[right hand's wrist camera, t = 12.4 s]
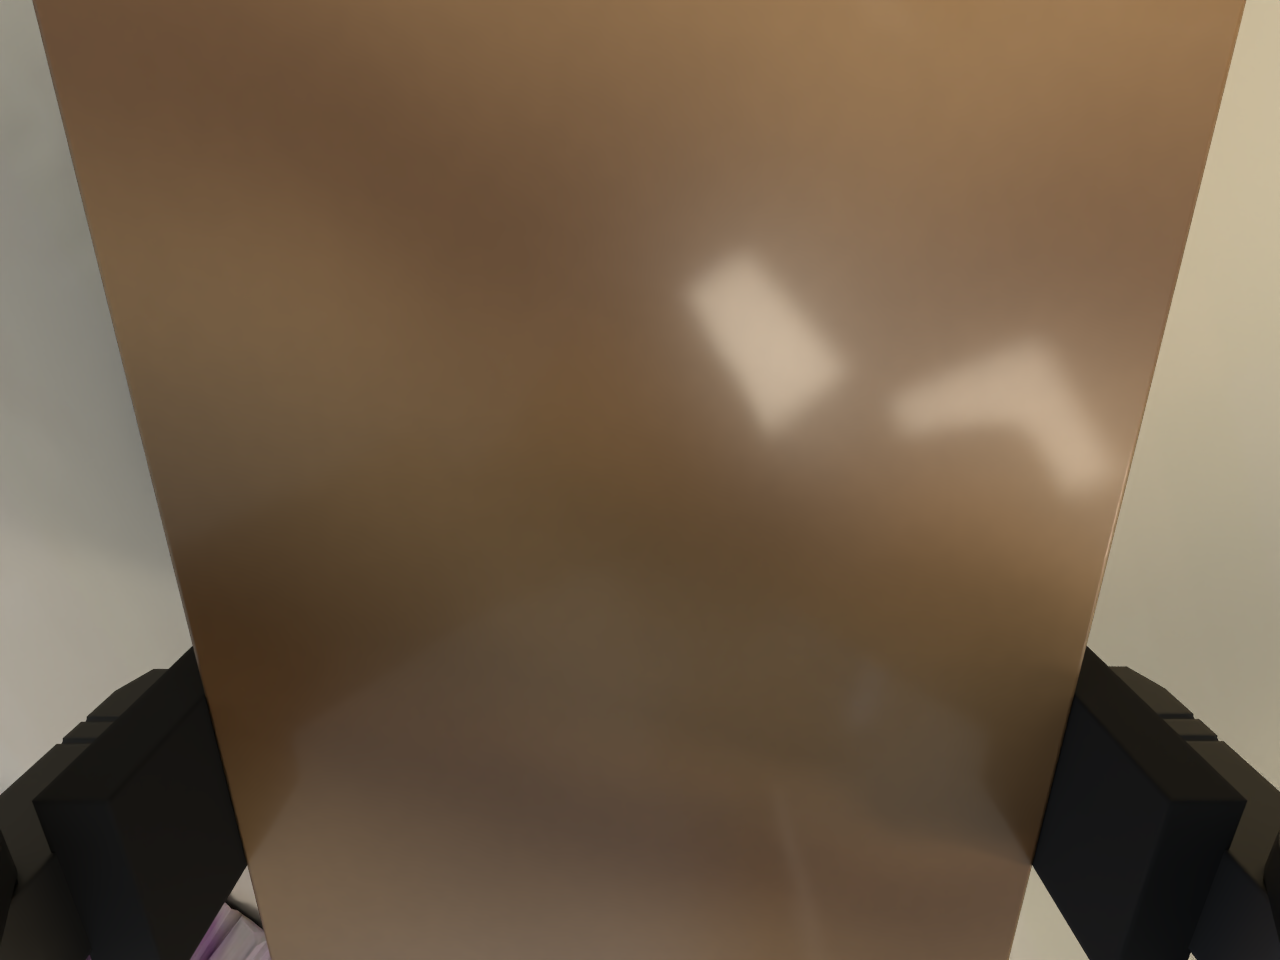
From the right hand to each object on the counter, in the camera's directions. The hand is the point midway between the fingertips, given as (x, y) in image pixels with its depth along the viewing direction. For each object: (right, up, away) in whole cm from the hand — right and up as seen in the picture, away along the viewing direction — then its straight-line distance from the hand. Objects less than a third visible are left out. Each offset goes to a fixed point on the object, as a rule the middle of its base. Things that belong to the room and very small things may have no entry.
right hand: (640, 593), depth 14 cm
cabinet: (0, +8, +1) cm, 8 cm away
